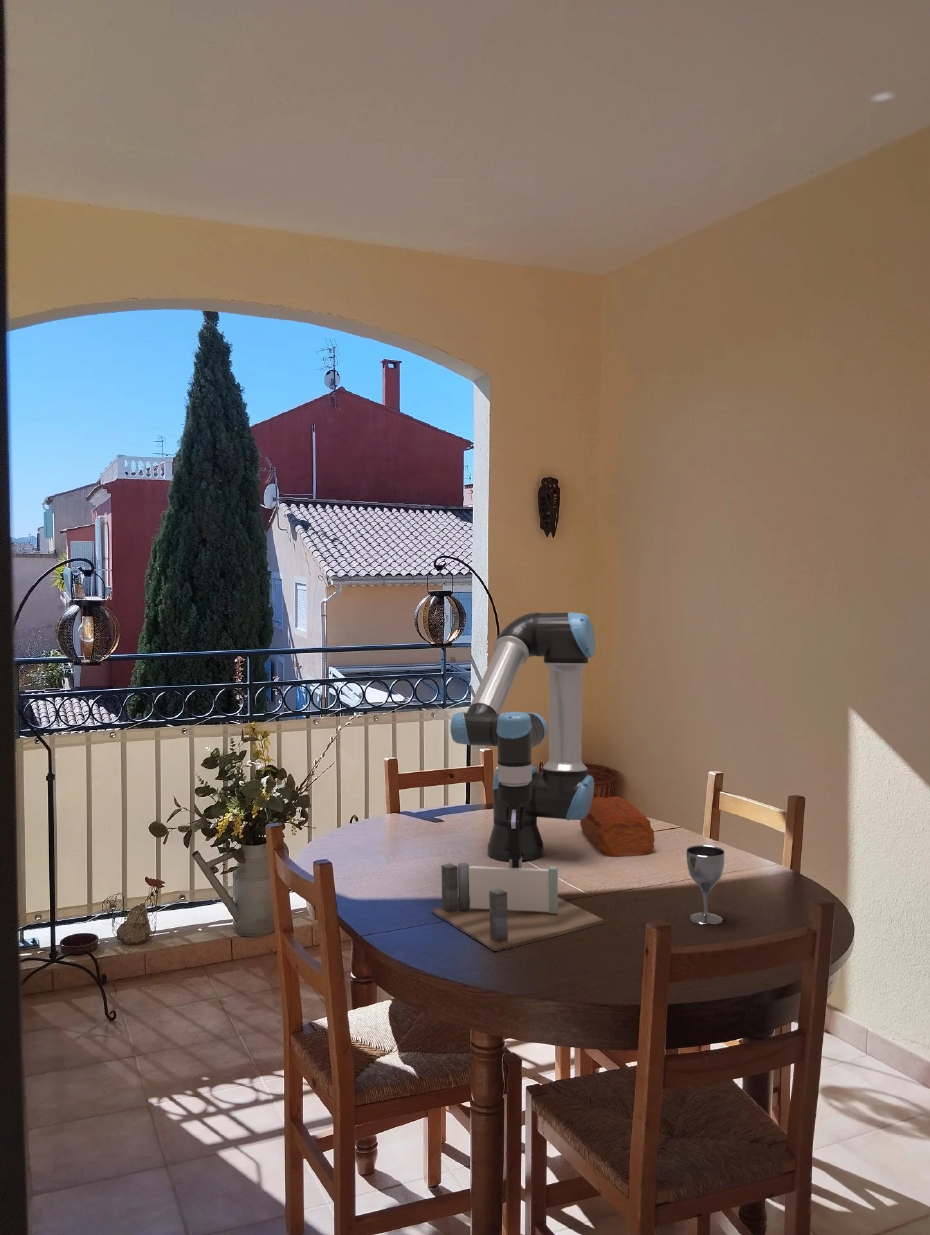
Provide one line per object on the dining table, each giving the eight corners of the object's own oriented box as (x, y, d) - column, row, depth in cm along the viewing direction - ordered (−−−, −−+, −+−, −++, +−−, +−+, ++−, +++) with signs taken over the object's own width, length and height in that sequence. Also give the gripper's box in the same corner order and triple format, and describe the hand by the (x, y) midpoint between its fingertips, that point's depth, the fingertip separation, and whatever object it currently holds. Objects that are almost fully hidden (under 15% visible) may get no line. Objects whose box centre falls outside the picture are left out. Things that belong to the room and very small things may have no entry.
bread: (629, 828, 279) (629, 792, 278) (658, 855, 252) (658, 816, 252) (577, 830, 277) (577, 794, 276) (601, 858, 250) (600, 819, 250)
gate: (457, 910, 211) (456, 865, 211) (459, 906, 214) (458, 862, 213) (557, 915, 207) (556, 869, 207) (558, 911, 210) (557, 866, 209)
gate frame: (432, 913, 213) (431, 865, 212) (534, 889, 227) (534, 844, 227) (494, 952, 191) (493, 899, 190) (604, 923, 205) (603, 874, 204)
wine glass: (725, 914, 209) (725, 846, 208) (723, 927, 201) (723, 857, 201) (688, 910, 212) (688, 844, 211) (685, 923, 204) (684, 854, 203)
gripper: (500, 775, 219) (501, 876, 220) (495, 789, 206) (496, 896, 207) (533, 776, 218) (534, 877, 219) (530, 789, 205) (531, 897, 206)
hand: (516, 886), depth 213 cm, fingers closed
